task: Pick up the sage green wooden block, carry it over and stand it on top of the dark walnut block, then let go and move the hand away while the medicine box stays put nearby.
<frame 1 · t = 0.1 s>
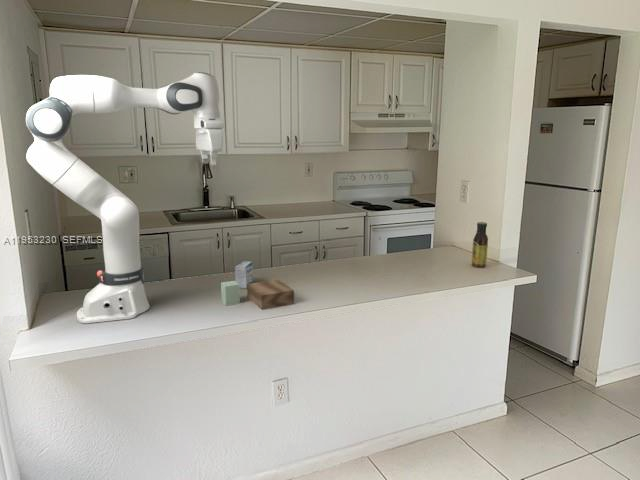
hand: (209, 164, 165), 48 cm above the counter, tool pointing down, fingers open, 8 cm apart
medicine box: (244, 285, 187), on the counter
sage block: (230, 302, 168), on the counter
walnut block: (270, 300, 170), on the counter
sauce bottle: (478, 266, 213), on the counter
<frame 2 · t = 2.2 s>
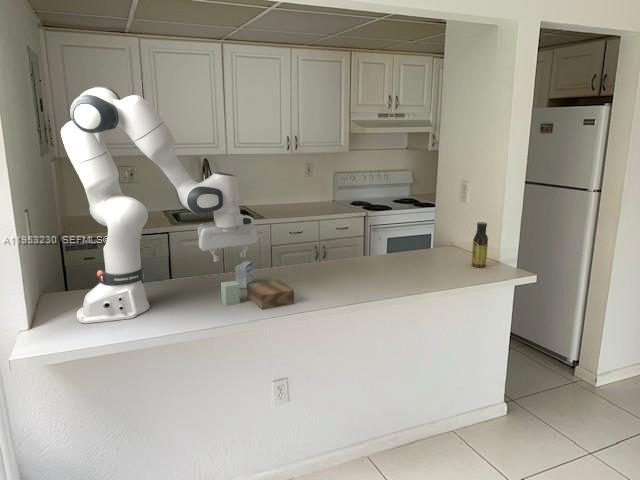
hand: (229, 259, 165), 16 cm above the counter, tool pointing down, fingers open, 8 cm apart
nothing on the counter moved.
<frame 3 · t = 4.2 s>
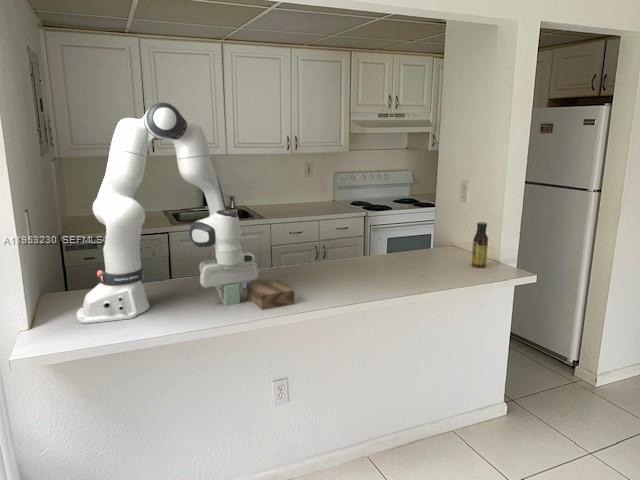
hand: (230, 295, 167), 3 cm above the counter, tool pointing down, fingers closed on sage block, 5 cm apart
sage block: (230, 302, 168), on the counter, touching gripper
everything else where it was.
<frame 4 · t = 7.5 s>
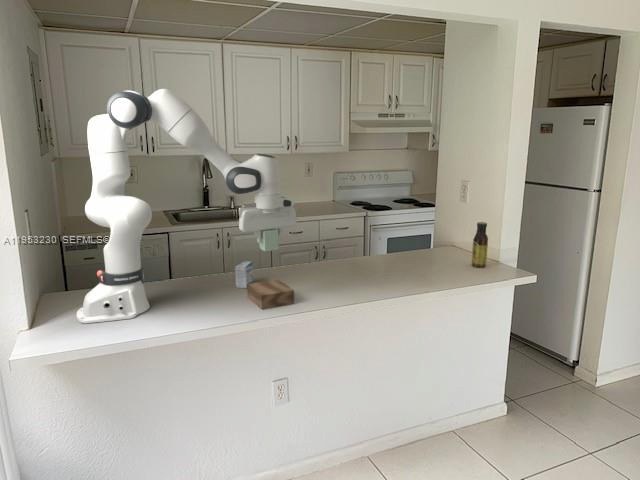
hand: (268, 241, 165), 22 cm above the counter, tool pointing down, fingers closed on sage block, 5 cm apart
sage block: (269, 248, 166), point 19 cm above the counter, touching gripper
everything else where it was.
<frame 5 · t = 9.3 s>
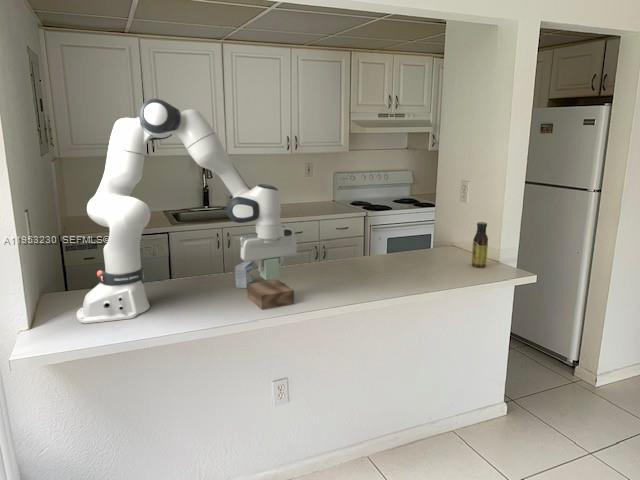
hand: (269, 269, 168), 11 cm above the counter, tool pointing down, fingers closed on sage block, 5 cm apart
sage block: (269, 276, 168), point 9 cm above the counter, touching gripper
everything else where it was.
when the fingers open (9 cm above the counter, at t = 10.6 s): sage block drops 1 cm, resting on walnut block.
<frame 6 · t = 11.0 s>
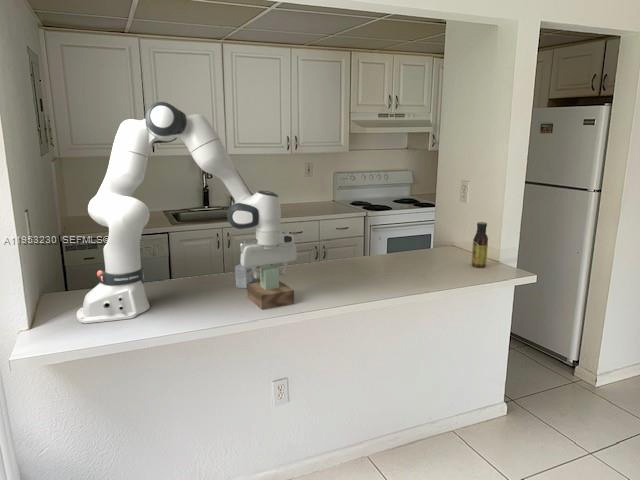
hand: (269, 276, 168), 9 cm above the counter, tool pointing down, fingers open, 8 cm apart
sage block: (269, 287, 169), point 5 cm above the counter, touching walnut block
everything else where it was.
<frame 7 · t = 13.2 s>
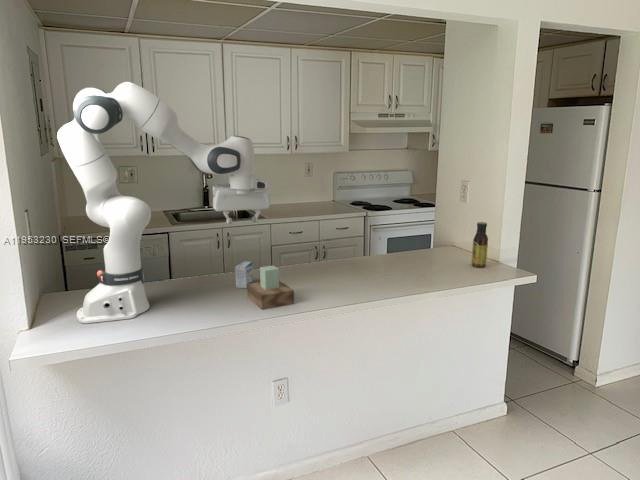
hand: (242, 222, 169), 27 cm above the counter, tool pointing down, fingers open, 8 cm apart
nothing on the counter moved.
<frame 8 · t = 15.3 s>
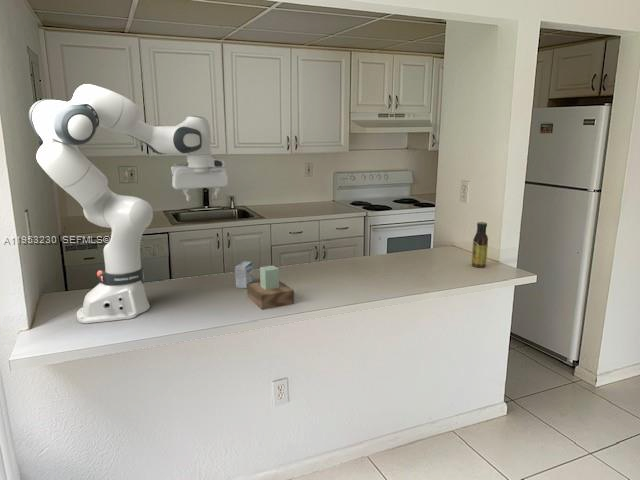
hand: (201, 200, 176), 34 cm above the counter, tool pointing down, fingers open, 8 cm apart
nothing on the counter moved.
at the end: sage block inside the target area on the walnut block (0.1 cm from its centre), point 5.0 cm above the walnut block's base; sage block tilted 0°; the gripper is holding nothing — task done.
